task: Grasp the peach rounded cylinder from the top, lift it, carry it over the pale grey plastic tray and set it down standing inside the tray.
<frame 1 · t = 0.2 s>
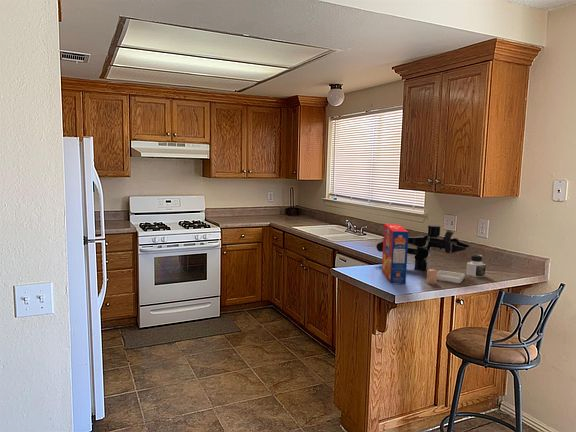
hand: (467, 247, 249), 17 cm above the counter, tool horizontal, fingers open, 9 cm apart
peach rounded cylinder: (431, 283, 235), on the counter
medicine bottle: (475, 275, 253), on the counter
tray: (449, 278, 245), on the counter
cereal box: (392, 277, 246), on the counter
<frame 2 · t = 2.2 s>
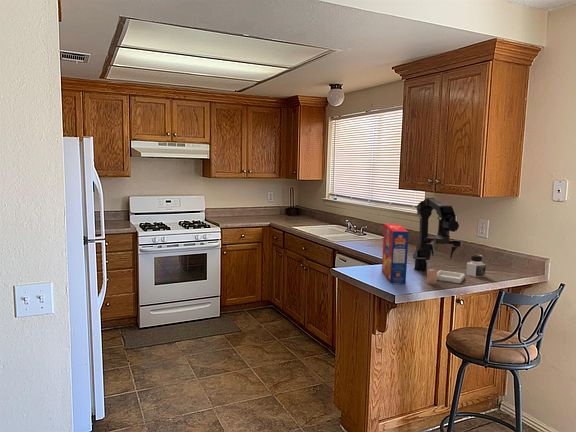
hand: (442, 257, 238), 13 cm above the counter, tool pointing down, fingers open, 9 cm apart
nothing on the counter moved.
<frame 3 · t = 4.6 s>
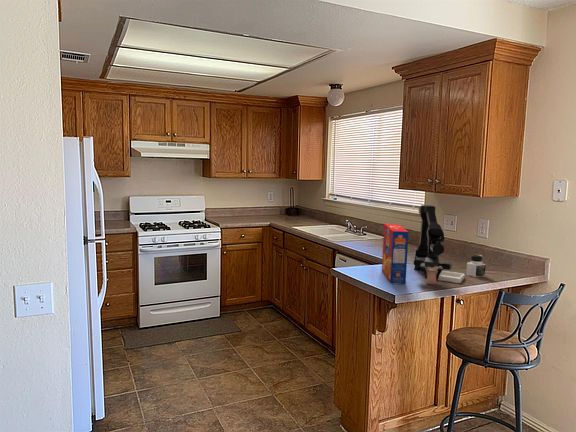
hand: (431, 279, 235), 2 cm above the counter, tool pointing down, fingers closed on peach rounded cylinder, 5 cm apart
peach rounded cylinder: (431, 283, 235), on the counter, touching gripper
everything else where it was.
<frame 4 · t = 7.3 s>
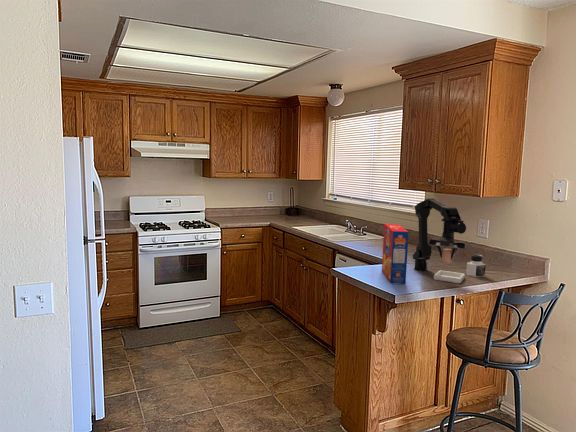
hand: (446, 258, 241), 12 cm above the counter, tool pointing down, fingers closed on peach rounded cylinder, 5 cm apart
peach rounded cylinder: (446, 262, 241), point 10 cm above the counter, touching gripper
everything else where it was.
when the fingers open (3 cm above the counter, at t = 10.0 s): peach rounded cylinder stays where it is, resting on tray.
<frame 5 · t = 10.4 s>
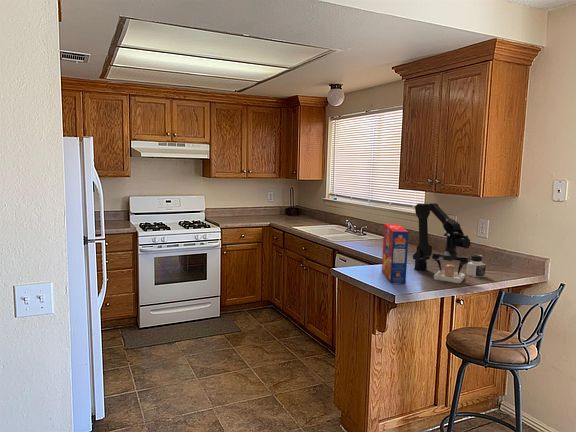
hand: (449, 272, 244), 3 cm above the counter, tool pointing down, fingers open, 9 cm apart
peach rounded cylinder: (449, 277, 245), resting on tray
everything else where it was.
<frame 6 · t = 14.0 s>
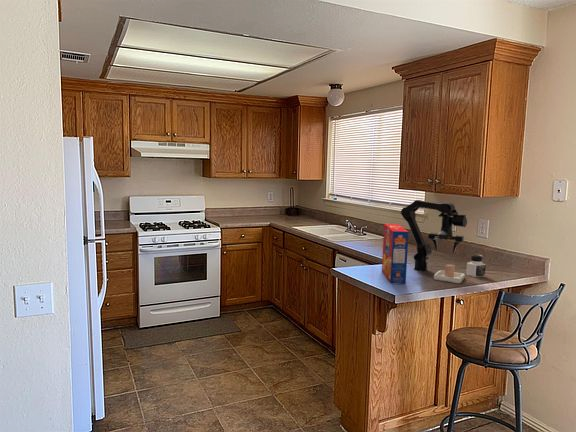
hand: (445, 251, 253), 13 cm above the counter, tool pointing down, fingers open, 9 cm apart
nothing on the counter moved.
at the end: peach rounded cylinder inside the target area on the tray (0.1 cm from its centre), point 0.5 cm above the tray's base; peach rounded cylinder tilted 0°; the gripper is holding nothing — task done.
